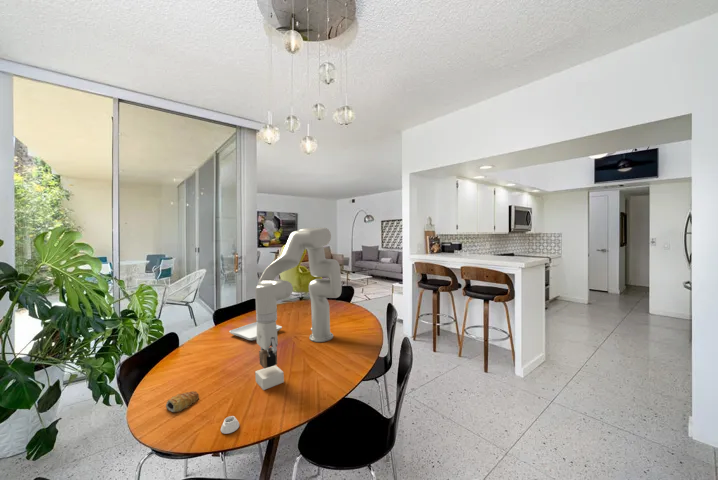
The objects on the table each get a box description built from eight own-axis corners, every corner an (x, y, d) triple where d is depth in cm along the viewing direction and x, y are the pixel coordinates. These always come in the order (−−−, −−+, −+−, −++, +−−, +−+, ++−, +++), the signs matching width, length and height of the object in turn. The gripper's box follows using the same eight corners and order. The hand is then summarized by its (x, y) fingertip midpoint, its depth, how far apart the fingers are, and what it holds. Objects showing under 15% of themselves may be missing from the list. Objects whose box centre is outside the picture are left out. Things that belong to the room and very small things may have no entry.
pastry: (192, 394, 103) (191, 384, 103) (203, 399, 100) (203, 389, 100) (164, 409, 95) (163, 398, 95) (175, 415, 92) (174, 404, 92)
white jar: (217, 434, 83) (232, 435, 82) (216, 424, 83) (232, 425, 82) (227, 422, 88) (242, 423, 87) (227, 413, 87) (242, 414, 87)
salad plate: (260, 325, 176) (260, 319, 176) (283, 331, 164) (283, 326, 164) (228, 336, 159) (227, 330, 159) (250, 344, 147) (250, 338, 146)
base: (255, 381, 110) (255, 371, 110) (275, 374, 115) (275, 364, 115) (263, 390, 104) (262, 379, 104) (283, 382, 109) (283, 371, 109)
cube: (259, 363, 110) (259, 351, 110) (272, 359, 113) (271, 347, 113) (264, 368, 106) (264, 355, 106) (277, 364, 109) (276, 351, 109)
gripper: (249, 313, 113) (251, 358, 114) (265, 324, 100) (267, 375, 100) (267, 310, 118) (269, 353, 118) (285, 319, 104) (287, 368, 105)
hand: (268, 362), depth 109 cm, fingers closed on cube, 5 cm apart
